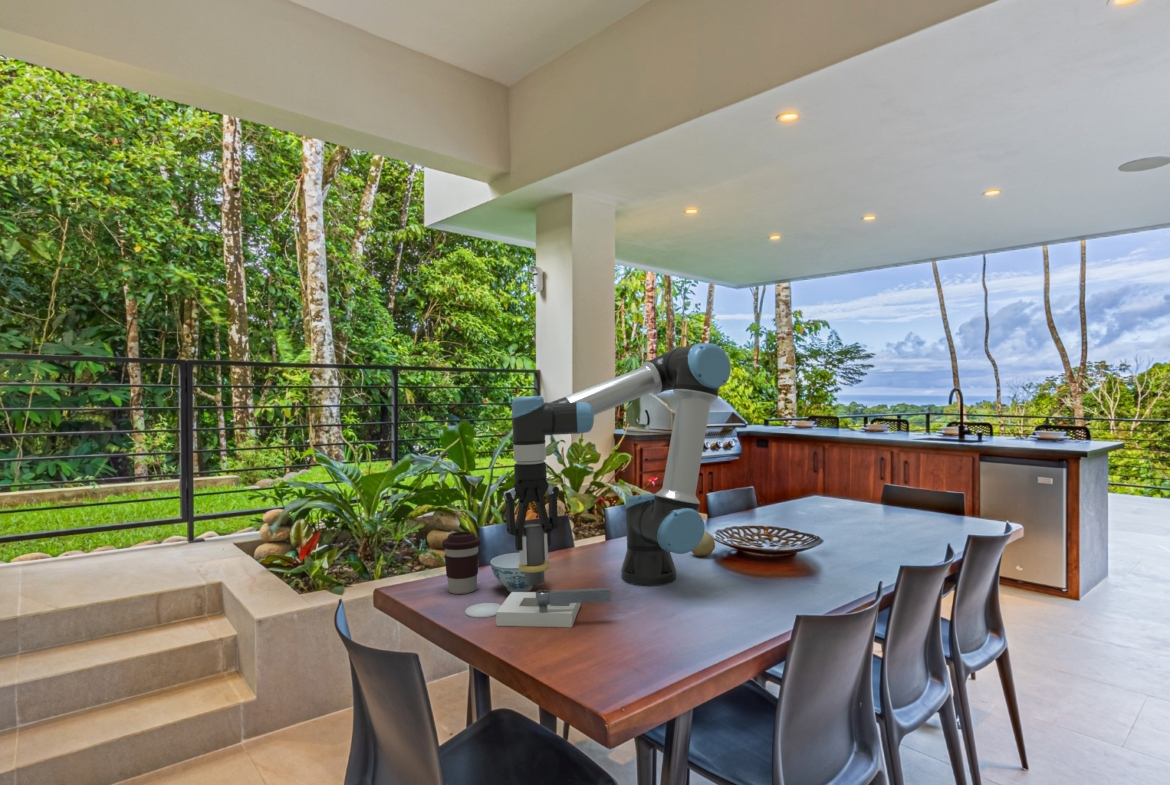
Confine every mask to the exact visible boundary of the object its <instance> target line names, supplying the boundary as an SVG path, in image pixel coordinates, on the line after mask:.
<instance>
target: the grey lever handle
mask: <svg viewBox="0 0 1170 785" xmlns="http://www.w3.org/2000/svg"><path fill="white" fill-rule="evenodd" d="M535 592H536V605H539V606H545V605H549V604H564V603H580V604H582V603H598V602H599V603H601V602H605V603H606V602H611V598H612V597H611V588H610V587H596V588H595V587H594V588H576V589H558V590H557V589H554V590H549V589H538V590H537V591H535Z"/></svg>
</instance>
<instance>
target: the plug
mask: <svg viewBox="0 0 1170 785" xmlns="http://www.w3.org/2000/svg"><path fill="white" fill-rule="evenodd" d="M523 535H524V536H526V547H527V565H523V564H521V563H519V570H520V571H522V572H525V584H527V585H532V586H539V585H542V584H544V583H545V581H546V580H545V571H547V570H549V569H550V561H549V560H548V561H546V562H545V561H544V552H543V527H542V525H541V524H539V523H538V524H537V523H535V524H533V523H532V524H526V525H524V531H523Z"/></svg>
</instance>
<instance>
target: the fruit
mask: <svg viewBox="0 0 1170 785" xmlns="http://www.w3.org/2000/svg"><path fill="white" fill-rule="evenodd" d="M715 548H716V543H715V539H714V537H713V536H712V534H710V533H709V532H708V531H706V530H704V535H703V538H702V540H701V542H700V543H699V545H698V546H697V547H696V548H694V549H693V550H692V551H690V553H691V552H692V554H694V555H696V556H697V557H706V556H707V557H708V556H709V555H712V553H713V551H714V550H715Z"/></svg>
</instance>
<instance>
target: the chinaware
mask: <svg viewBox="0 0 1170 785" xmlns="http://www.w3.org/2000/svg"><path fill="white" fill-rule="evenodd" d="M489 563H490V566H491V567H490V568H491V571H492V574H493V575H494V577H495V578H496V580H497V581H498V582H499V583H500V584H501V585H503V586H504V587H506V590H507V591H508V592H509V593H511V592H531V590H532V589H533V585H527V584H525V572H522V571H520V570H519V563H520V555H519V552H511V553H505V554H501V555H498V556H495V557H493V558H492V559H491V560H490V562H489Z"/></svg>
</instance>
